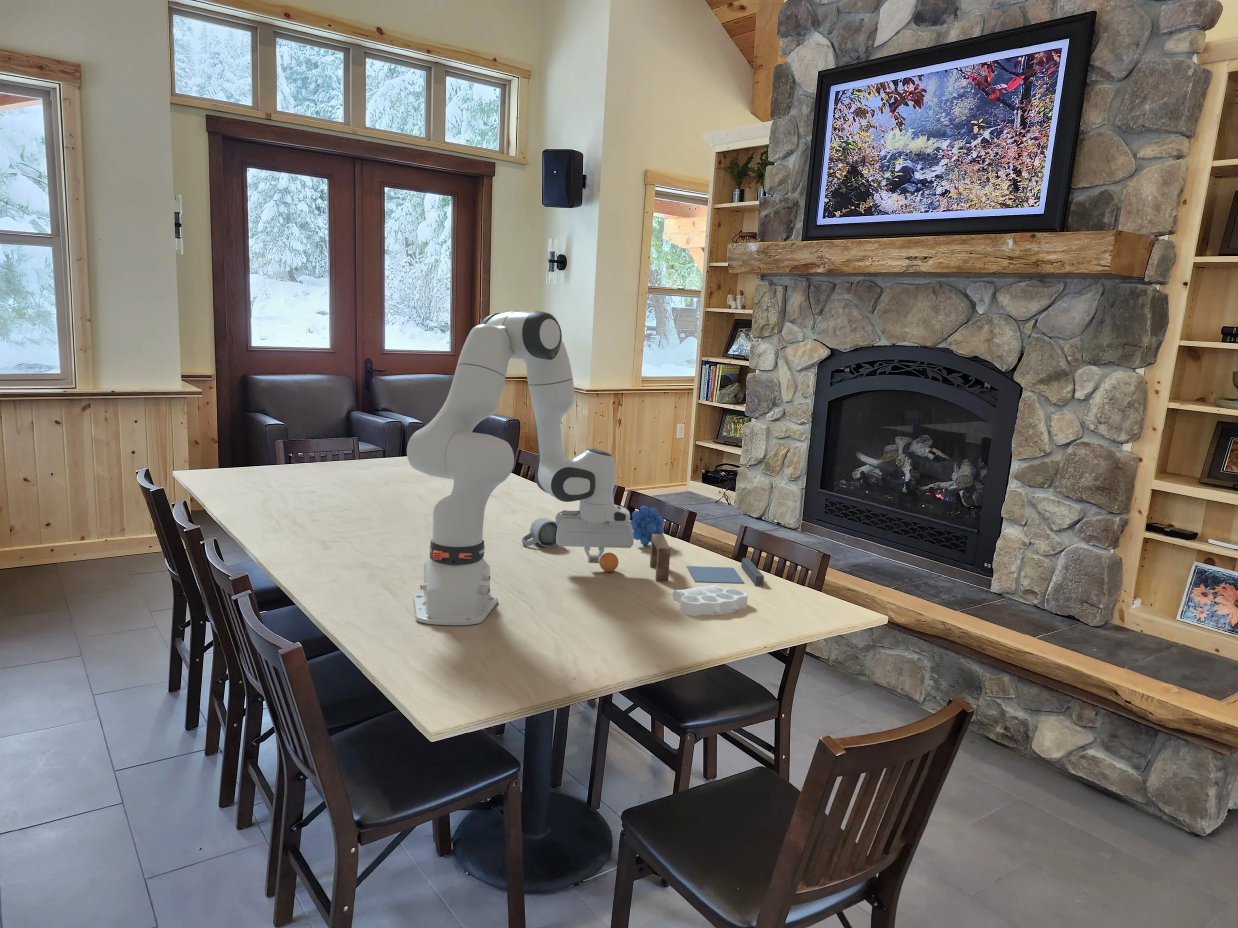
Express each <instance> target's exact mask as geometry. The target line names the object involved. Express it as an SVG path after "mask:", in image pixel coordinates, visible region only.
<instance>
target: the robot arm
mask: <svg viewBox="0 0 1238 928" xmlns="http://www.w3.org/2000/svg"><path fill="white" fill-rule="evenodd" d="M562 333H563V332H562V329H561V326H560V324H559V322H558V320H557V318H556V317H555V316H554V315H553V314H551V313H549V312H546V311H541V310H537V311H536V310H535V311H524V310H523V311H521V310H511V311H506V312H497V313H492V314H490V315H488V316H486V317H485V318H483V319H482V320H481V322H480V324H477V325H476V326H474V327H472V328H471V330H470V331H469V333H468V335H467V337H466V339H465V342H464V344H463V346H462V349H461V350H460V351H461V352H460V354H459V357H458V360H457V365H456V368H455V372H454V375H453V379H452V383H451V385H450V389H449V392H448V395H447V397H446V399H445V401H444V403H443V405H442V406H441V408H440V409H439V411H438V412H437V414H435V416H434V418H432V419H431V421H429V422H428V423H427V424H426V425H425V426H423V427H421V428H420V429H418V430H416V431H415V432H414V433H413V434H412V435H411V436H410V438H409V440H408V442H407V447H406V456H407V461H408V463H409V464H410V466H411V467H412V468H413V469H415V470H416V471H419V472H421V474H422V473H423V474H425V475H428V476H430V477H436V478H442V479H448V480H452V481H453V487H452V491H451V493H450V494H449V495H448V496H444V497H442V498H441V499H440V500H438V502H437V503H436V504H435V505H434V508H433V511H432V538H431V540H430V542H429V543H430V544H429V559H428V560H427V561H425V562H424V563H423V583H421V584H420V586H419V587H420V591H423V592H418V593H415V594H413V599H412V600H413V606H414V607H413V608H414V615H415V616H414V617H415V620H416V622H418V623H419V622H420V623H423V624H429V625H437V626H438V625H439V626H469V625H476V624H482V623H483V622H484V621H485V620H486V618H487V616H488V615H490V612H492V610H493V609H494V608H495V606H496V605H497V604H498V602H499V599H498V598H499V597H498V596H497V595H494V594H491V565H489V563H488V562H487V561H486V560H485V558H484V557H485V550H486V548H485V547H486V546H485V540H484V538H483V536H484V532H483V531H484V518H485V511H486V506H487V503H488V500H489V498H490V496H491V494H492V493H493V492H494V490H495V489H496V487H498V486H499V485H501V484H502V483H503V482H505V481H506V480H507V479H508V478H509V477H510V475H511V473H512V471H513V469H514V465H515V455H514V450H513V448H512V446H511V445H510V443H509V442H508V441H506V440H504V439H502V438H499V437H497V436H494V435H490V434H488V433H487V434H486V433H480V432H473V430H474V429H475V428H476V426H477V425H479V424H480V422H482V421H483V420H485V419H488V418H489V417H491V416H493V415H494V414H495V413H496V412H497V410H498V408H499V406H500V405H499V404H500V402H501V397H502V394H503V393H502V392H503V389H504V386H505V381H506V376H507V373H508V372H507V371H508V367H509V361H510V359H516V360H517V359H518V360H523V362H524V363H525V365H526V368H525V369H526V377H527V385H528V391H529V397H530V400H531V405H532V406H531V407H532V410H533V414H534V421H535V422H534V424H535V431H536V440H537V441H536V443H537V453H538V454H537V461H536V465H535V469H534V479H535V480H534V481H535V483H536V486H537V487H538V488H539V489H540V490H541V491H543V492H545V493H547V494H549V495H550V496H552V497H554V498H555V499H556V500H558V501H560V502H563V503H570V502H571V503H572V502H577V501H579V505H578V506H579V508H578V510H566V509H563V510H561V511H559V512H558V513H557V514H556V515H555V520H554V521H555V523H556V525H557V533H556V543H557V546H558V547H573V548H574V547H577V548H578V547H580V548H581V547H583V548H584V552H585V554H586V556H587V563H588V564H600V563H599V561H600V558H601V556H602V555H603V554H604V553H605V548H609V549H610V548H611V549H612V548H613V549H614V548H615V549H616V548H617V549H618V548H620V549H631V548H632V547H633V545H634V540H635V539H634V537H633V531H634V530H633V528H632V525H631V522H630V521H631V514H630V511H629V510H628V509H627V508H626V507H623V506H620V505H617V504H615V501H614V500H615V498H614V490H615V486H616V485H615V484H616V463H615V459H614V456H613V455H612V454H610V453H609V452H607V451H603V450H601V449H597V448H586V449H585V450H584V451H583V452H582V453H581V454H579V455H578V456H575V457H574V458H571V459H569V460H568V459H567V458H566V456H565V453H564V451H563V442H562V431H561V430H562V429H561V422H562V419H563V417H564V415H565V414H567V413H568V412H569V411H570V410H571V408H572V406H573V405H574V402H575V385H574V377H573V371H572V366H571V362H570V358H569V354H568V351H567V348H566V345H565V343H564V341H563V340H562V339H563V335H562ZM591 548H597V549H598V552H597V554H591V553H590V551H591Z"/></svg>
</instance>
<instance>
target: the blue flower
mask: <svg viewBox="0 0 1238 928" xmlns="http://www.w3.org/2000/svg"><path fill="white" fill-rule="evenodd" d="M631 517H632V520H629V521H630V522H631V525H632V528H633V537H634V540H636V541H639V542H640V544H642V545H643V546H648V545H649V544H650V543H651V541H652V534H663V535H664V530H665V529H664V528H663V527H662V526H663V524H664V520H665V519H664V518H663V517H662V516H661V515H659V511H658V509H657V508H655V507H650V508H649V507H648V506H646V505H642V506H640V508H639V510H633V511H632V514H631Z"/></svg>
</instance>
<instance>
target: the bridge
mask: <svg viewBox="0 0 1238 928" xmlns="http://www.w3.org/2000/svg"><path fill="white" fill-rule="evenodd" d="M649 558H650V559H649V566H650V568H655V581H656V582H663V583H664V582H669V574H670V561H671V547H670V545H669V543H668V541H667V539H666V537H665V535H664V533H663V534H652V541H651V542H650V556H649Z"/></svg>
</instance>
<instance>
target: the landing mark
mask: <svg viewBox="0 0 1238 928" xmlns="http://www.w3.org/2000/svg"><path fill="white" fill-rule="evenodd" d="M686 569H687V570H688V572H689V573H690V576H691V578H692V579H693V581H694V582H695V583H713V584H715V583H718V584H719V583H720V584H745V581H744V580H743V578H742V577H741V576H740V575H739V573H738V572H737V570H736V569H735V568H734V567H727V566H726V567H725V566H722V567H721V566H698V565H697V566H696V565H695V566H694V565H693V566H692V565H686Z"/></svg>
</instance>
